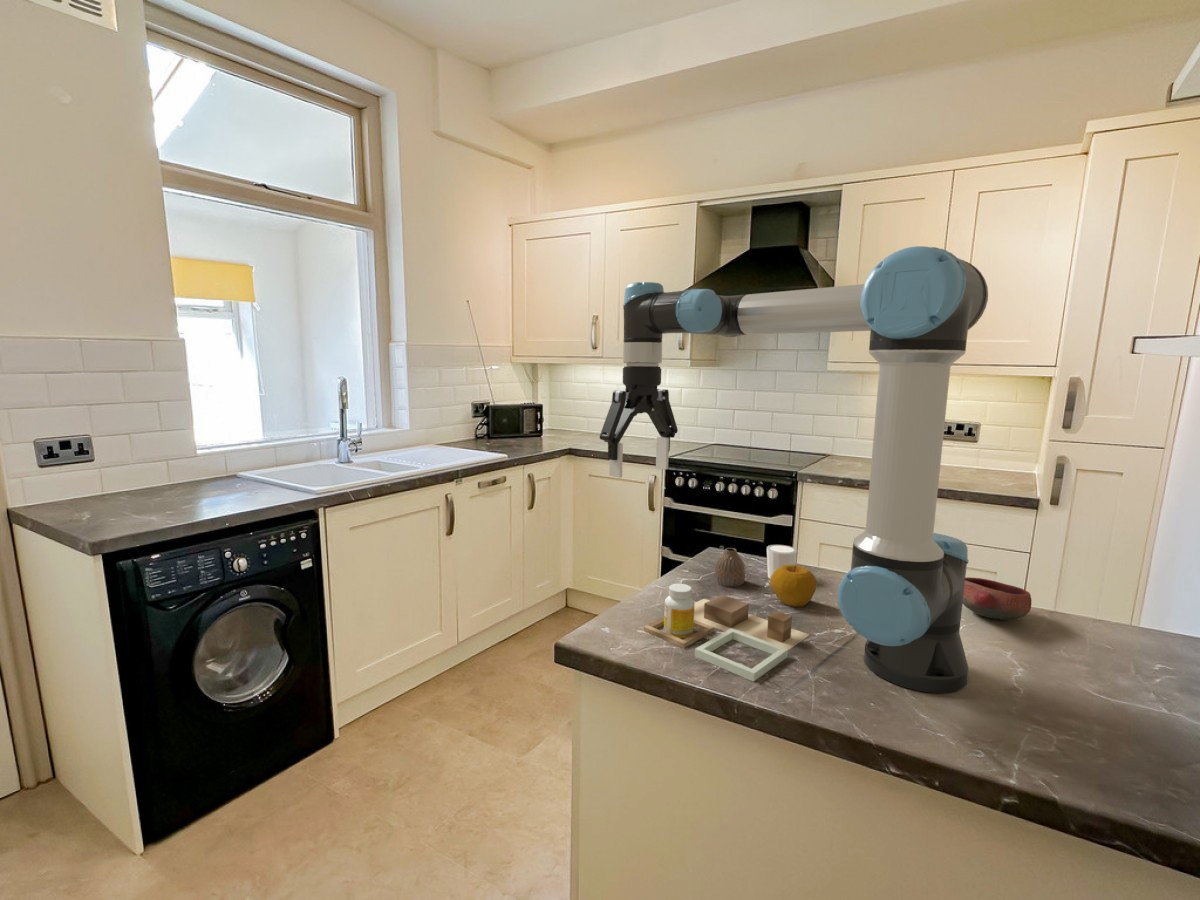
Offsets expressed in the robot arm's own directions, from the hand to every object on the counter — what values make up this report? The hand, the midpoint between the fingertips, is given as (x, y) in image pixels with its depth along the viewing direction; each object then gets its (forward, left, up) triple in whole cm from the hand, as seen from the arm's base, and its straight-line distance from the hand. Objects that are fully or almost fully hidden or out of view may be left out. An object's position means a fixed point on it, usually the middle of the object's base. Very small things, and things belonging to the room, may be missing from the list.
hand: (639, 472), depth 118 cm
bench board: (-21, -5, -28) cm, 35 cm away
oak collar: (-15, +6, -28) cm, 32 cm away
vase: (-8, -22, -28) cm, 37 cm away
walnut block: (-18, -5, -27) cm, 33 cm away
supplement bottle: (-15, +6, -28) cm, 32 cm away
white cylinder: (-13, -36, -28) cm, 48 cm away
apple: (-23, -22, -28) cm, 43 cm away
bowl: (-54, -45, -28) cm, 76 cm away
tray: (-28, +6, -28) cm, 40 cm away
